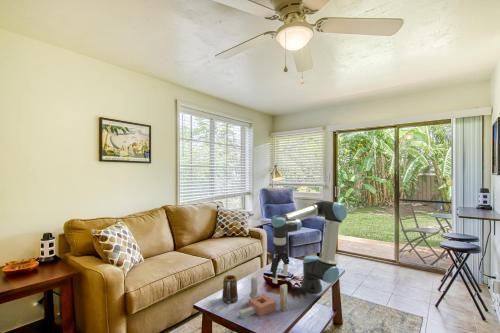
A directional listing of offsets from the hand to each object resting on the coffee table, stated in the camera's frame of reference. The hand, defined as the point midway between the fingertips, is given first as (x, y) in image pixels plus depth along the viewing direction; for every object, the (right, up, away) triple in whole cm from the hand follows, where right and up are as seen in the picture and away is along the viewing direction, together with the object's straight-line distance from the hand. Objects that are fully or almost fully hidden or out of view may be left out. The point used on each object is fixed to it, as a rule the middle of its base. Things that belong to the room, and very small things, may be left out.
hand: (280, 278), depth 155 cm
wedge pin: (+2, -21, +4) cm, 21 cm away
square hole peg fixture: (-16, -21, +4) cm, 27 cm away
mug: (-32, -21, +13) cm, 40 cm away
